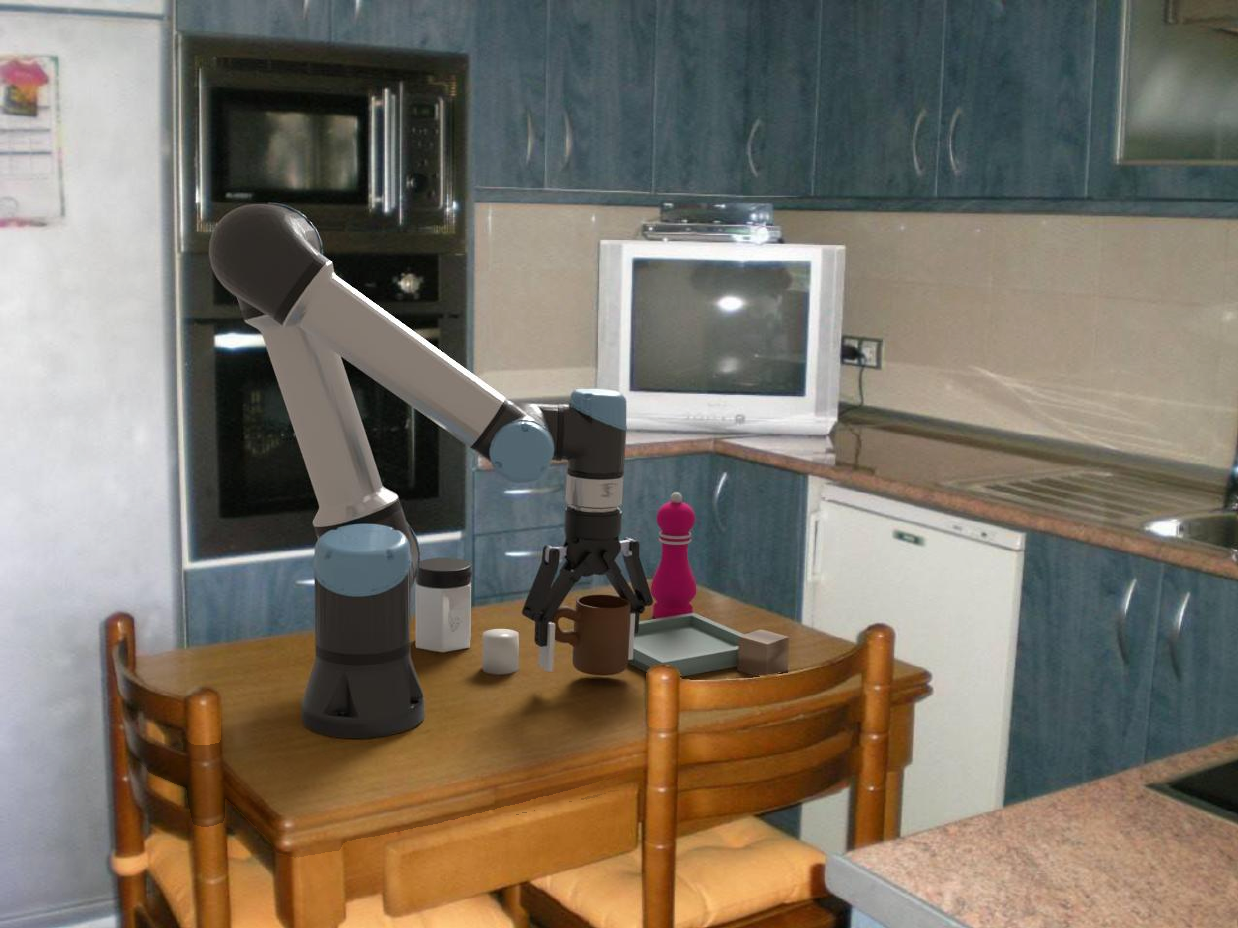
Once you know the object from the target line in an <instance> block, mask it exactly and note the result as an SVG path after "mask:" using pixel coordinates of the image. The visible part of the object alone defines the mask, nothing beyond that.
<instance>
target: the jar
mask: <svg viewBox="0 0 1238 928" xmlns="http://www.w3.org/2000/svg"><path fill="white" fill-rule="evenodd" d="M472 577H473V570H472V563H471V562H470V561H468V560H466V559H463V558H457V557H456V558H455V557H433V558H432V557H431V558H426V559H422V560H420V565H419V569H418V573H417V575H416V577H415V580H414V582H415V592H414V593H415V596H414V597H415V609H414V610H415V616H414V617H415V648H417V649H420V650H421V649H422V650H427V651H432V652H436V653H437V652H438V653H447V652H453V651H460V650H464V649H469V648H470V647H471V638H472V637H471V633H472V632H471V630H472V629H471V628H472V626H471V625H472V623H471V622H472V617H471V616H472V611H471V610H472V609H471V608H472V604H471V603H472V597H471V596H472V592H471V591H472Z"/></svg>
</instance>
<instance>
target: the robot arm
mask: <svg viewBox="0 0 1238 928" xmlns="http://www.w3.org/2000/svg"><path fill="white" fill-rule="evenodd" d="M208 244H209V245H208V257H209V261H210V266H211V269H212V271H213V273H214V275H215V277H216V278H217V280H218V281H219V283H220V284H221V285H222V286H223V287H224V289H226V290H227V291H228V292H229V293H231V294H232V295H234V296H235V297H236V299H237V301H238V304H239V308H240V311H241V314H242V317H243V320H244V322H245V323H246V324H248V325H250V326H251V327H253V328H255V329H257V330H258V331H259V332H260V333H261V335H262V339H263V341H264V344H265V347H266V351H267V353H268V357H269V360H270V362H271V365H272V368H273V371H274V374H275V377H276V381H277V383H278V387H279V389H280V392H281V396H282V398H283V402H284V404H285V407H286V411H287V413H288V416H289V420H290V423H291V425H292V428H293V431H294V433H295V436H296V440H297V443H298V446H299V449H300V453H301V454H302V455H301V456H302V458H303V460H304V464H305V467H306V470H307V473H308V476H309V479H310V481H311V485H312V488H313V491H314V494H315V497H316V499H317V503H318V507H319V508H318V510H317V513H316V514H315V516H314V517H313V518H314V519H313V520H312V526H313V529H314V530H315V534H316V537H317V541H316V543H315V546H314V551H313V552H314V555H313V557H312V570H313V575H314V584H313V585H314V642H315V643H314V647H315V648H314V651H315V655H314V657H315V658H314V663H313V666H312V669H311V672H310V675H309V678H308V682H307V684H306V687H305V692H304V694H303V697H302V701H301V722H302V724H303V725H304V726H305V727H306V728H307V729H309V730H310V731H312V732H314V733H317V734H321V735H324V736H329V737H334V738H345V739H369V738H379V737H386V736H391V735H396V734H399V733H403V732H405V731H408V730H412V729H413V728H414V727H416V726H418V725H419V724H420V723H422V722H423V720H424V719H425V715H426V714H425V709H426V707H425V696H424V693H423V692H424V691H423V690H422V686H421V683H420V681H419V678H418V675H417V672H416V670H415V666H414V662H413V660H412V656H411V599H412V598H411V595H412V590H413V586H414V583H415V577H416V575H417V573H418V569H419V565H420V561H421V558H420V557H421V548H420V544H419V541H418V537H417V535H416V533H415V532H414V530H413V528H412V527H411V525H409V523H408V522H407V519H406V516H405V513H404V509H403V508H402V505H401V501H400V498H399V495H398V494H397V493H396V492H394V491H391V490H390V489H388V488H386V487H384V485H383V483H382V481H381V480H382V479H381V476H380V474H379V470H378V467H377V464H376V461H375V459H374V455H373V453H372V448H371V446H370V442H369V440H368V436H367V434H366V430H365V428H364V424H363V422H362V418H361V415H360V412H359V408H358V405H357V402H356V400H355V397H354V393H353V390H352V387H351V385H350V381H349V379H348V378H349V377H348V374H347V371H346V369H345V366H344V363H343V360H342V358H343V359H344V360H345V361H347V362H348V363H349V364H351V365H353V366H354V367H356V369H358V370H360V371H361V372H363V373H364V374H365V375H366V376H368V377H369V378H371V379H373V380H374V381H375V382H377V384H380V385H381V386H382V387H384V388H385V389H386V390H388V391H389V392H391V393H392V394H394V395H395V396H396V397H398V398H399V399H401V400H402V401H404V402H405V403H407V404H408V405H409V406H411V407H412V408H414V409H415V410H417V411H418V412H419V413H421V414H422V415H424V416H425V417H427V418H428V419H429V420H430V421H432V422H434V423H435V424H436V425H438V426H439V427H440V428H442V429H443V430H445V431H446V432H448V433H449V434H451V435H452V436H453V437H455V438H456V439H458V440H459V441H461V442H462V443H463V444H465V445H466V446H467V447H469V448H470V449H471V450H472V451H474V452H475V453H476V454H478V456H479V457H481V458H484V459H485V460H486V461H487V462H489V463H490V464H491V465H492V467H493V468H494V469H495V471H496V472H497V474H499V475H500V476H501V477H502V478H503V479H505V480H507V481H509V482H511V483H514V484H528V483H532V482H535V481H537V480H538V479H540V478H541V477H543V475H545V474H546V473H547V472H548V470H549V468H550V466H551V464H552V462H553V461H555V462H567V463H566V464H567V468H566V469H567V470H566V485H565V486H566V488H565V502H566V503H567V504H568V505H567V506H566V507H565V511H564V535H565V540H564V543H563V545H562V546H551V545H550V544H546V545H544V546H543V547H542V552H541V553H542V554H541V555H542V557H541V563H540V565H539V568H538V571H537V573H536V575H535V578H534V580H533V582H532V585H531V587H530V589H529V593H528V595H527V597H526V599H525V603H524V604H523V608H522V611H521V615H522V616H524V617H525V618H527V619H529V620H530V621H534V643H535V645H537V646H538V663H537V665H538V667H539V668H541V669H542V670H545V672H548V673H549V672H554V664H555V663H554V661H555V643H556V642H555V641H556V640H555V623H553V622H551V621H550V620H551V619H552V617H553V616H554V614H555V613H556V611H557V610H558V608H559V607H561V606H562V604H563V602H564V601H565V599H566V598H567V596H568V595H569V593H570V591H571V590H572V588H573V587H574V585H575V584H576V583H578V582H579V581H580V580H581V579H582V577H584V578H587V577H592V576H594V575H597V576H604V575H605V576H606V578H607V579H608V581H609V582H610V584H611V586H612V588H613V589H614V590H615V592H616V594H617V596H619V597H622V598H624V599H626V600H628V601H629V602H630V614H631V618H630V636H629V650H628V660H631V659H633V647H634V634H637V633H638V630H639V621H640V615H642V614H643V613H645V610H646V607H651V606H652V605H654V598H653V596H652V594H651V588H650V586H649V584H648V581H647V576H646V574H645V571H644V568H643V565H642V561H641V558H640V542H639V541H638V540H635V539H633V538H630V537H627V536H626V537H624V538H623V539H622V540H620V539H619V537H620V535H621V533H622V532H621V531H622V516H623V515H622V514H623V511H622V510H621V508H619V507H621V506H622V504H623V490H624V473H625V471H624V470H625V459H626V458H625V456H626V445H627V443H626V441H627V429H628V427H627V399H626V397H625V396H624V395H623V393H621V392H620V391H617V390H614V389H613V390H612V389H607V388H578V389H577V388H576V389H575V390H573V391H572V392H571V393H570V397H569V400H568V403H562V404H553V403H552V404H551V403H537V402H534V403H532V402H516V401H515V402H514V401H511V400H509V399H508V398H506V397H505V396H504V395H502V394H501V393H499V392H498V391H497V390H496V389H494V388H493V387H491V386H490V385H488V384H487V383H486V382H484V381H483V380H482V379H480V378H478V377H477V376H476V375H475V374H473V373H472V372H470V371H469V370H468V369H466V368H465V367H464V366H462V365H461V364H460V363H458V362H456V361H455V360H454V359H453V358H451V357H449V356H448V355H447V354H446V353H445V352H442V351H441V350H440V349H438V348H437V347H436V346H434V345H433V344H432V343H430V342H429V341H428V340H426V339H425V338H423V337H422V336H421V335H419V334H418V333H416V332H415V331H414V330H412V329H411V328H410V327H408V326H407V325H406V324H404V323H402V322H401V321H400V320H399V319H397V318H395V316H393V315H392V314H390V313H389V312H388V311H386V310H384V308H382V307H380V306H379V305H378V304H376V303H375V302H373V301H372V300H371V299H369V298H368V297H366V296H365V295H364V294H363V293H361V292H360V291H358V289H356V288H354V287H352V286H351V285H350V284H349V283H347V282H346V281H344V280H343V279H342V278H340V277H339V276H338V275H336V272H335V269H334V264H333V261H331V260H330V259H329V258H327V257H326V256H325V255H324V250H323V242H322V239H321V236H320V234H319V232H318V230H317V228H316V227H315V226H314V225H313V222H311V221H310V220H309V219H308V217H307V216H306V215H304V214H303V213H301V211H300V210H297V209H295V208H293V207H291V206H289V205H286V204H282V203H276V202H267V203H253V204H251V203H250V204H246V205H245V204H244V205H241V206H239V207H236V208H234V209H232V210H230V212H228V213H226V214H225V215H224V216H223V217H222V218H221V219H220V220H219V221H218V222H217V223H216V225H215V227H214V229H213V231H212V233H211V235H210V240H209V243H208ZM619 554H620V555H622V558H623V562H624V566H625V569H626V572H627V575H628V578H629V581H630V583H631V587H632V588H631V587H630V585H629V583H628V581H627V579H625V576H623V574H622V570H621V568H620V567H619V565H618V563H617V562H616V561H615V560H616V558H617V557H618V555H619ZM563 557H564V559H565V562H564V563H563V564H562V566H561V568H560V569H559V566H560V564H561V563H562V562H563ZM558 569H559V575H558V576H557V577H556V574H557V573H558ZM555 578H556V579H555ZM554 580H555V581H554Z"/></svg>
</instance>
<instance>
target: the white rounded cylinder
mask: <svg viewBox="0 0 1238 928" xmlns="http://www.w3.org/2000/svg"><path fill="white" fill-rule="evenodd" d="M519 635H520V634H519V632H518V631H516V630H512V629H507V628H496V629H495V628H494V629H489V630H488V629H487V630H485V631H484V632H482V643H481V644H482V646H481V647H482V648H481V649H482V650H481V651H482V654H481V655H482V657H481V660H482V661H481V663H482V666H481V667H482V668H481V669H482V671H483V672H485V673H487V674H491V675H509V674H514V673H515V672H517V671H518V670H519V652H520V651H519V649H520V648H519V646H520V645H519V641H520V640H519V639H520V638H519V637H520V636H519Z"/></svg>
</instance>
